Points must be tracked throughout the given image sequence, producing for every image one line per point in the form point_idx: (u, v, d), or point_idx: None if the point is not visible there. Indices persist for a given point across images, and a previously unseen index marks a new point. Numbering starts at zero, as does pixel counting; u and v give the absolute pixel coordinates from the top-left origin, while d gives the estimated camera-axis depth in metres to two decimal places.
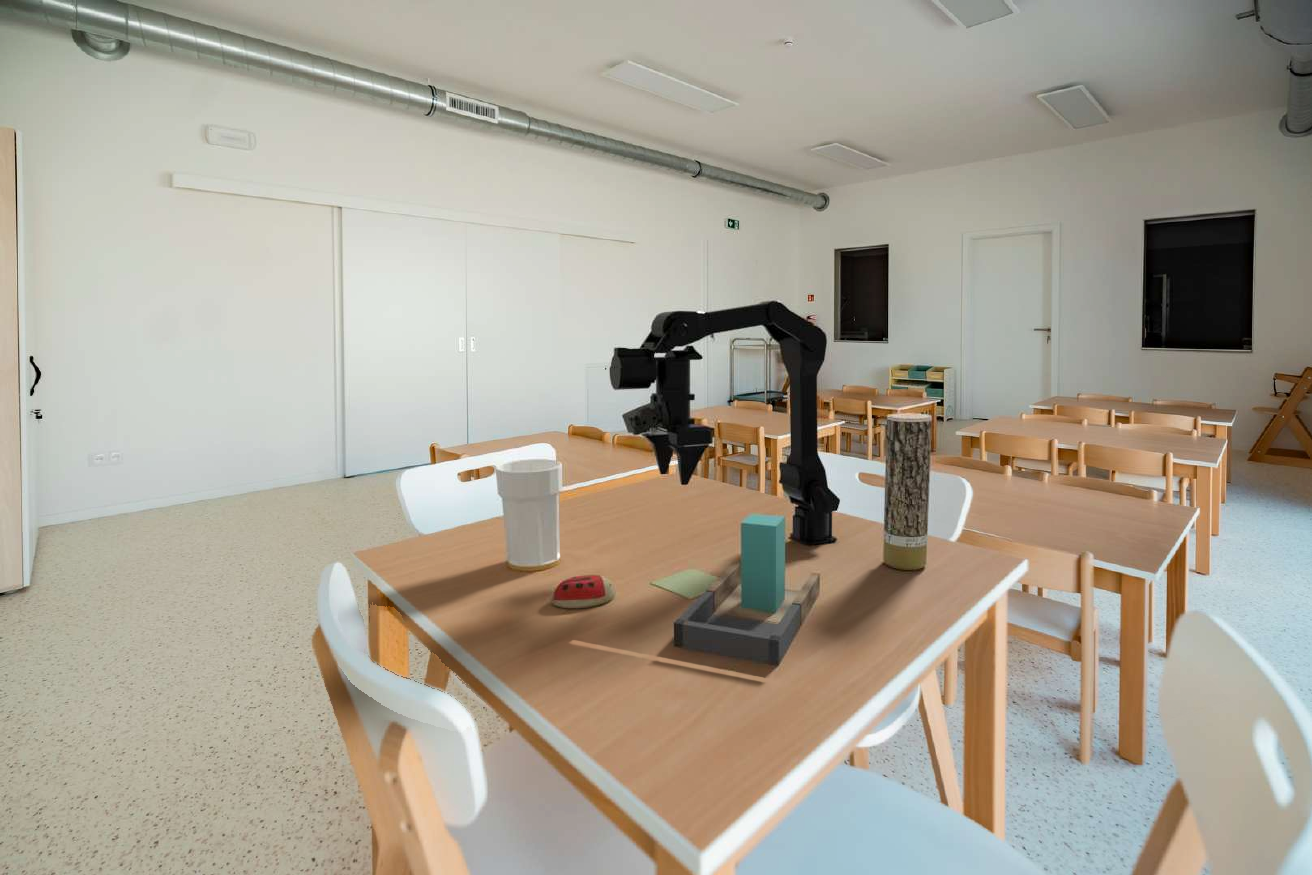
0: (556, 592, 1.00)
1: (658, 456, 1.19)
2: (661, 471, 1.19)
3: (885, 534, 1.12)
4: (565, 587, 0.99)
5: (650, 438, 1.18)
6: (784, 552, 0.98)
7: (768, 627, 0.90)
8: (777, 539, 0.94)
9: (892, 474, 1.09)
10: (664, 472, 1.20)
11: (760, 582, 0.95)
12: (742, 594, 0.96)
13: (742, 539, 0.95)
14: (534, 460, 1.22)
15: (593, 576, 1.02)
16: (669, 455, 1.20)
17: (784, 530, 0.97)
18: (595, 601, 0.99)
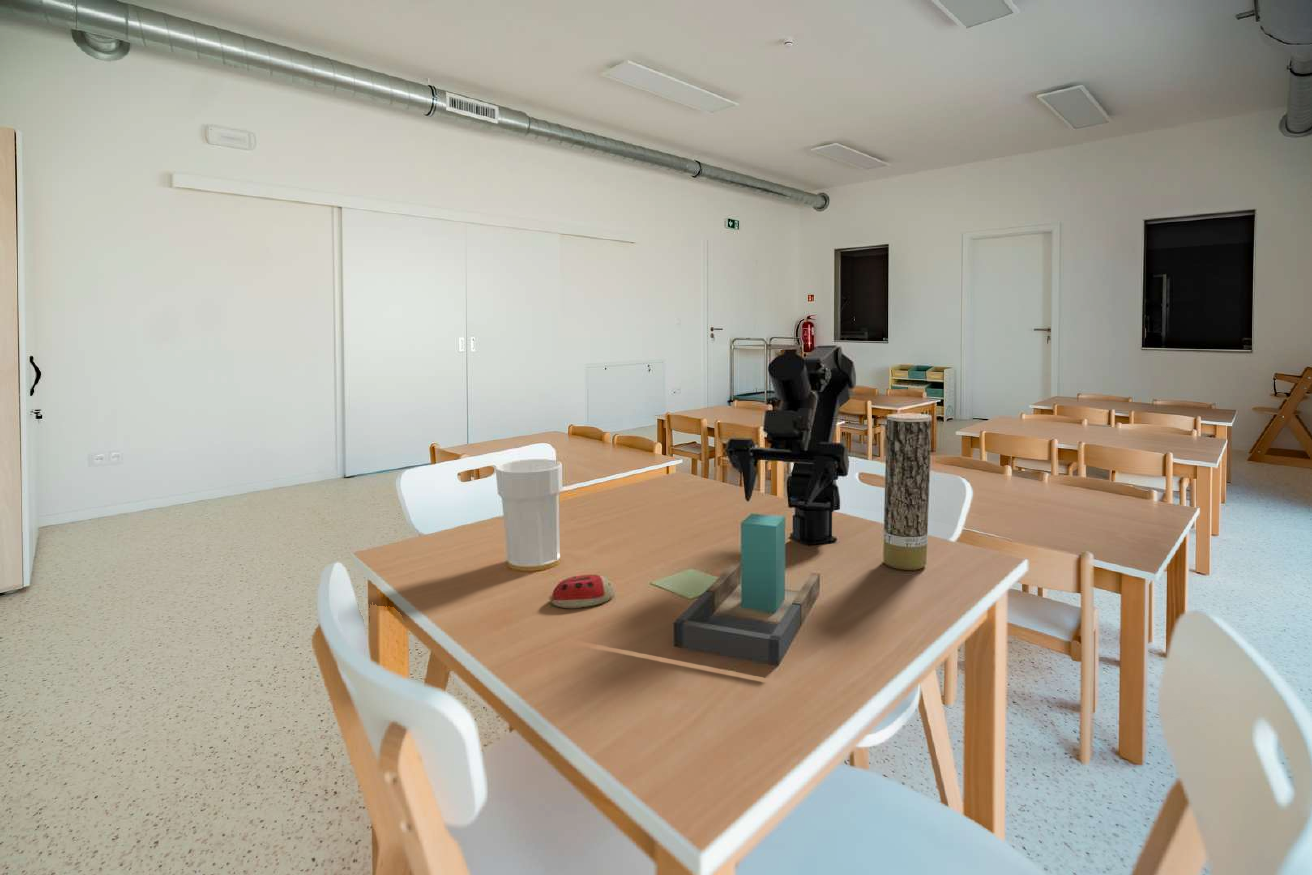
0: (555, 592, 1.00)
1: (749, 479, 1.06)
2: (748, 495, 1.05)
3: (885, 534, 1.12)
4: (564, 587, 0.99)
5: (749, 457, 1.07)
6: (784, 552, 0.98)
7: (768, 627, 0.90)
8: (777, 539, 0.94)
9: (892, 474, 1.09)
10: (748, 498, 1.05)
11: (760, 582, 0.95)
12: (742, 594, 0.96)
13: (742, 539, 0.95)
14: (534, 460, 1.22)
15: (592, 576, 1.03)
16: (752, 486, 1.08)
17: (784, 530, 0.97)
18: (594, 601, 0.99)
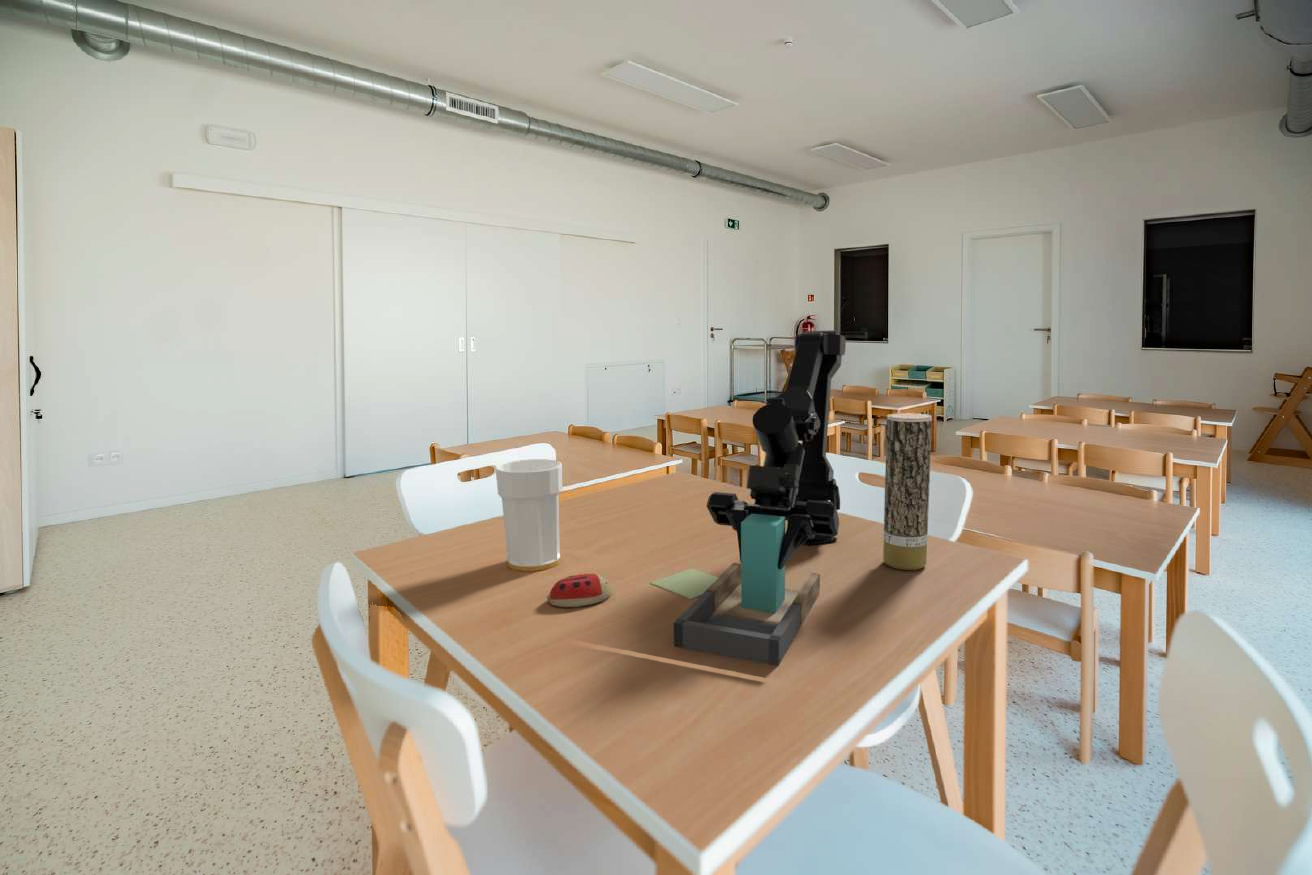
0: (552, 591, 1.00)
1: None
2: None
3: (885, 534, 1.12)
4: (562, 586, 1.00)
5: (745, 516, 0.99)
6: None
7: (768, 627, 0.90)
8: (777, 539, 0.94)
9: (892, 474, 1.09)
10: None
11: (760, 582, 0.95)
12: (742, 594, 0.96)
13: (742, 539, 0.95)
14: (534, 460, 1.22)
15: (589, 575, 1.03)
16: None
17: (784, 530, 0.97)
18: (592, 599, 1.00)
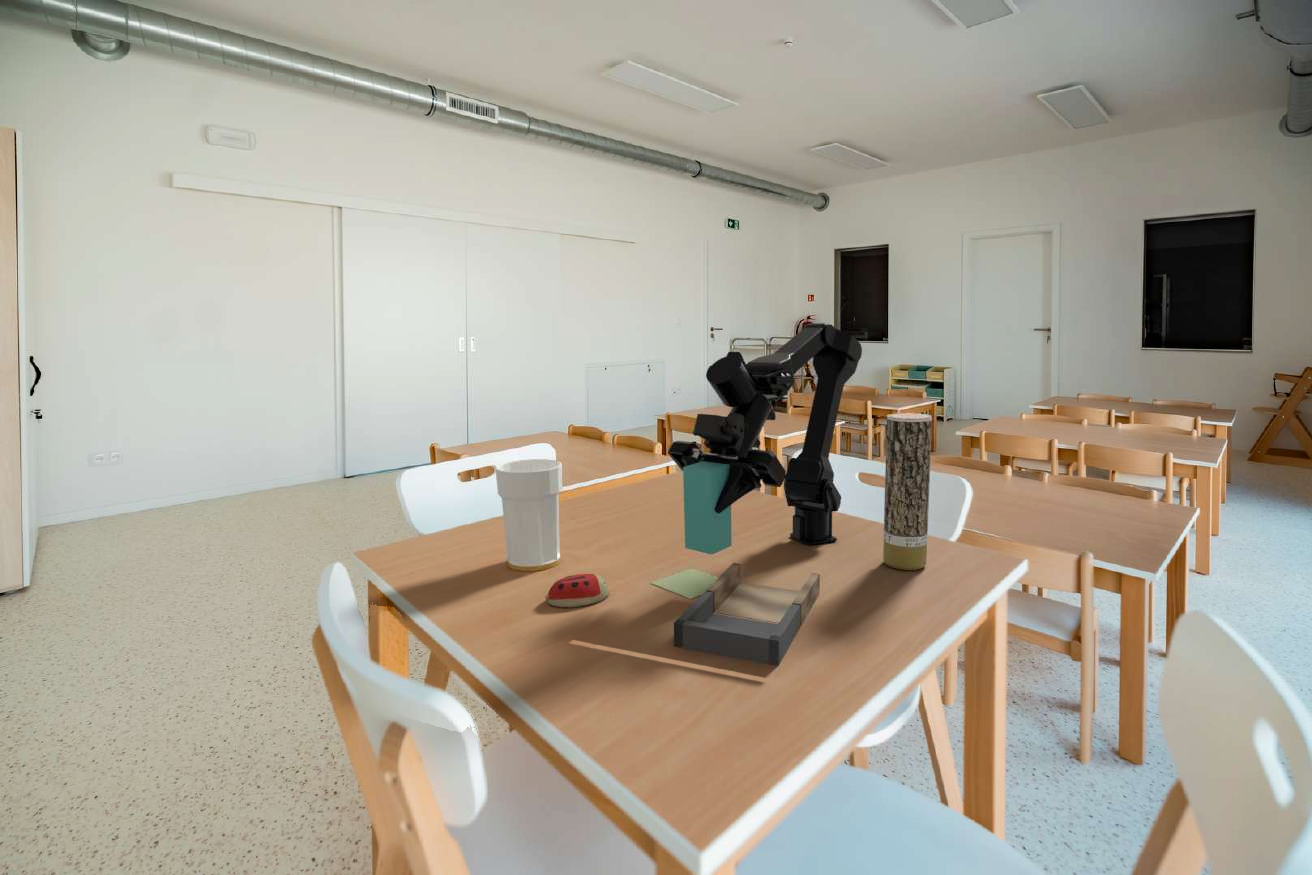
0: (551, 591, 1.00)
1: None
2: None
3: (885, 534, 1.12)
4: (560, 586, 1.00)
5: (696, 462, 1.04)
6: None
7: (768, 627, 0.90)
8: (714, 484, 0.98)
9: (892, 474, 1.09)
10: None
11: (699, 524, 1.00)
12: (685, 535, 1.02)
13: (684, 483, 1.00)
14: (534, 460, 1.22)
15: (587, 575, 1.03)
16: None
17: None
18: (591, 599, 1.00)
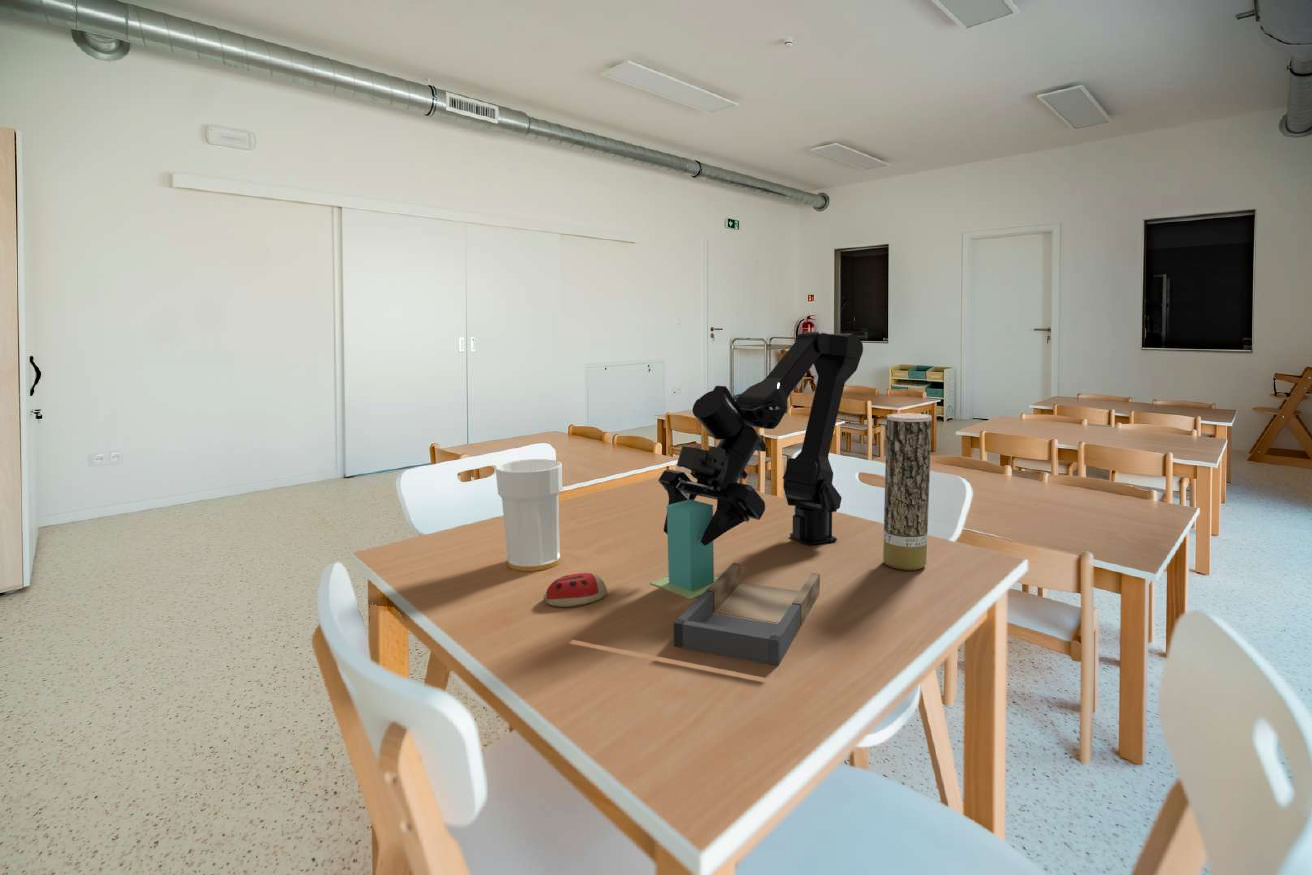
0: (549, 591, 1.00)
1: None
2: (666, 528, 1.07)
3: (885, 534, 1.12)
4: (558, 586, 1.00)
5: (676, 491, 1.09)
6: None
7: (768, 627, 0.90)
8: (693, 524, 1.02)
9: (892, 474, 1.09)
10: None
11: (680, 561, 1.04)
12: (669, 570, 1.06)
13: (668, 520, 1.05)
14: (534, 460, 1.22)
15: (585, 574, 1.03)
16: None
17: (711, 517, 1.04)
18: (589, 598, 1.00)
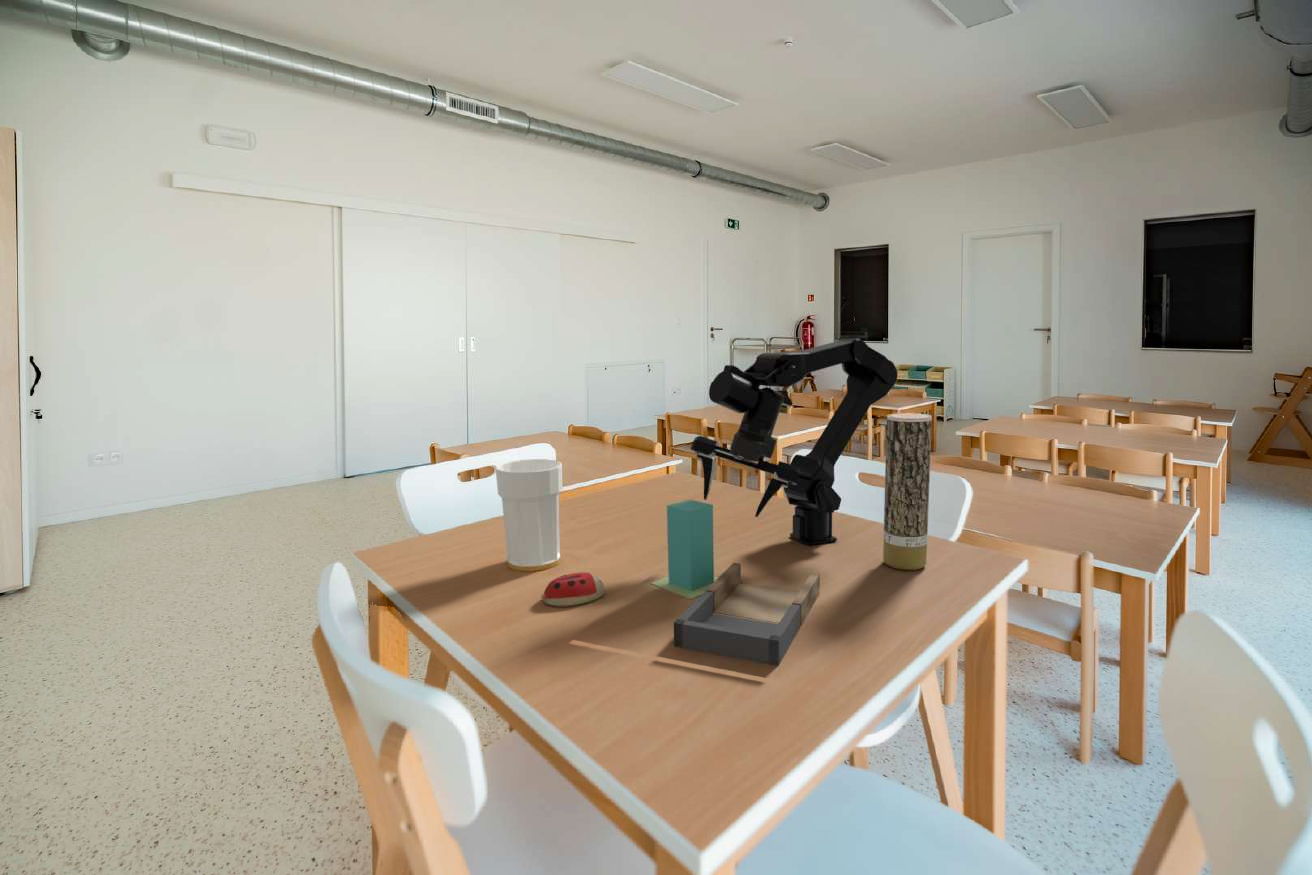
0: (547, 591, 1.00)
1: (710, 481, 1.17)
2: (706, 496, 1.17)
3: (885, 534, 1.12)
4: (557, 585, 1.00)
5: (712, 462, 1.16)
6: (711, 538, 1.05)
7: (768, 627, 0.90)
8: (693, 524, 1.02)
9: (892, 474, 1.09)
10: (706, 498, 1.17)
11: (680, 561, 1.04)
12: (669, 570, 1.06)
13: (668, 520, 1.05)
14: (534, 460, 1.22)
15: (583, 573, 1.04)
16: (711, 482, 1.19)
17: (711, 517, 1.04)
18: (587, 598, 1.00)
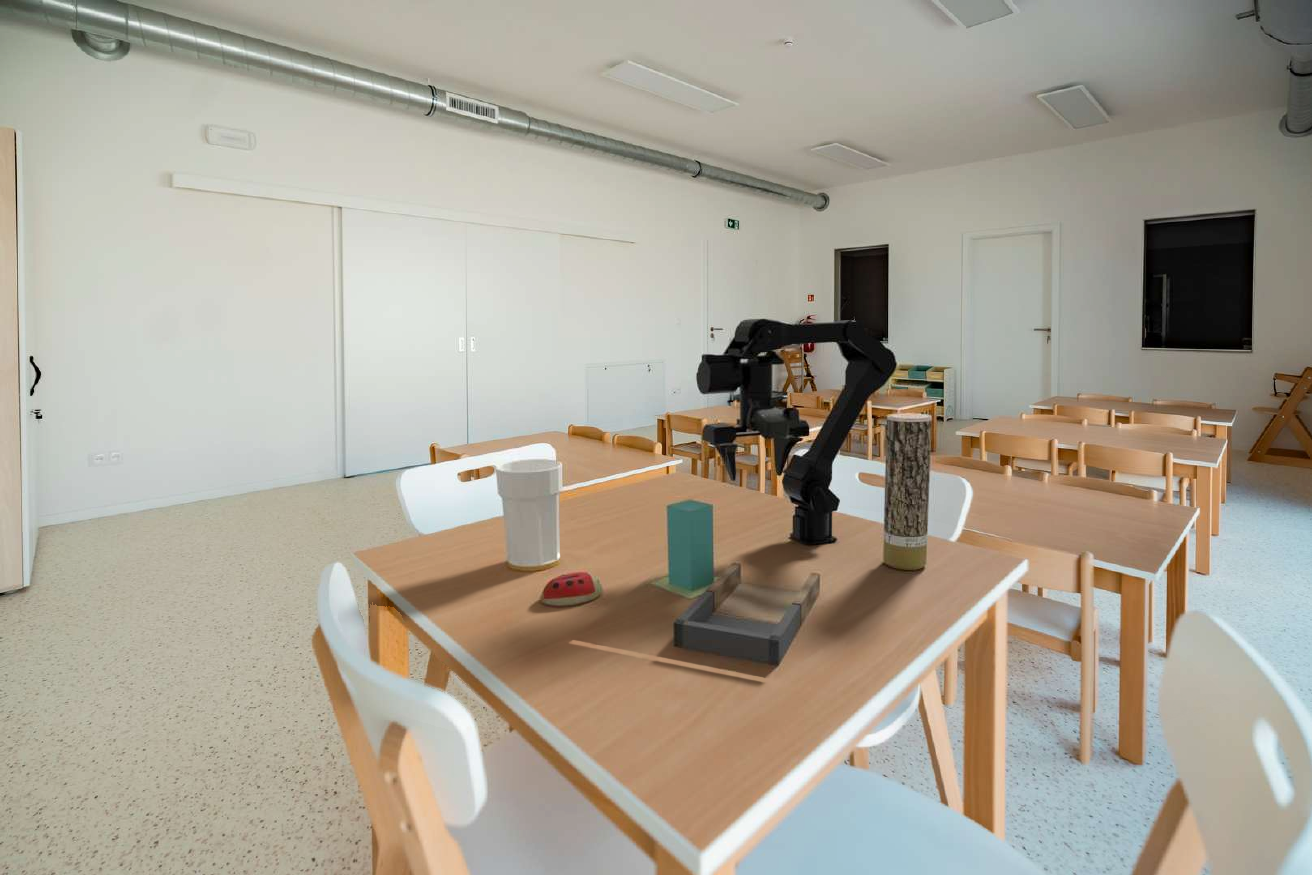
0: (546, 591, 1.00)
1: None
2: None
3: (885, 534, 1.12)
4: (555, 585, 1.00)
5: None
6: (711, 538, 1.05)
7: (768, 627, 0.90)
8: (693, 524, 1.02)
9: (892, 474, 1.09)
10: None
11: (680, 561, 1.04)
12: (669, 570, 1.06)
13: (668, 520, 1.05)
14: (534, 460, 1.22)
15: (581, 573, 1.04)
16: None
17: (711, 517, 1.04)
18: (586, 597, 1.01)
